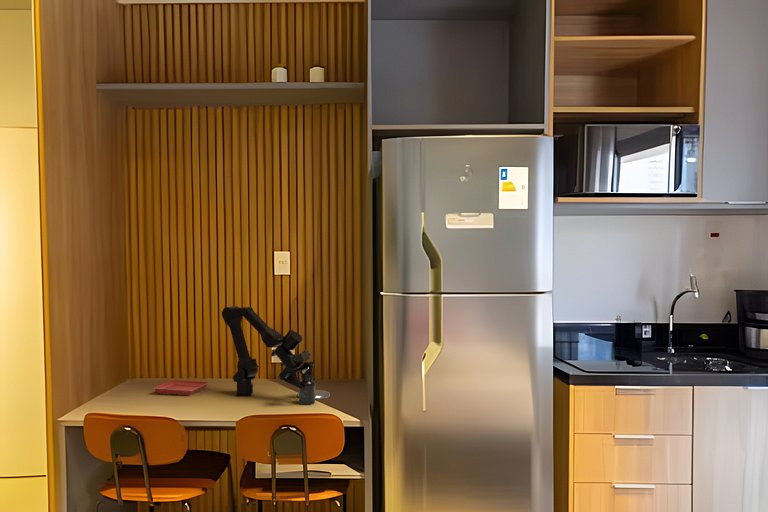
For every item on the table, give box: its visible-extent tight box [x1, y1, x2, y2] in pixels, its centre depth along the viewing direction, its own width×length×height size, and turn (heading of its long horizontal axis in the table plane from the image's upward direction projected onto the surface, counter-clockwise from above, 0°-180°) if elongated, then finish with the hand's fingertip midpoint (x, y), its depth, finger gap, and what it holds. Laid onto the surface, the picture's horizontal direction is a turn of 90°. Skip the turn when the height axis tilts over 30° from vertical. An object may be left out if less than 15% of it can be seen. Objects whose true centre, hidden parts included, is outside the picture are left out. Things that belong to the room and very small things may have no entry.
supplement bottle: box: [298, 373, 316, 406], centre depth 270 cm, size 7×7×12 cm
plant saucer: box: [153, 379, 210, 396], centre depth 291 cm, size 18×18×3 cm
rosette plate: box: [297, 389, 331, 400], centre depth 283 cm, size 14×14×1 cm
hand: (308, 386), depth 269 cm, fingers open, 9 cm apart
